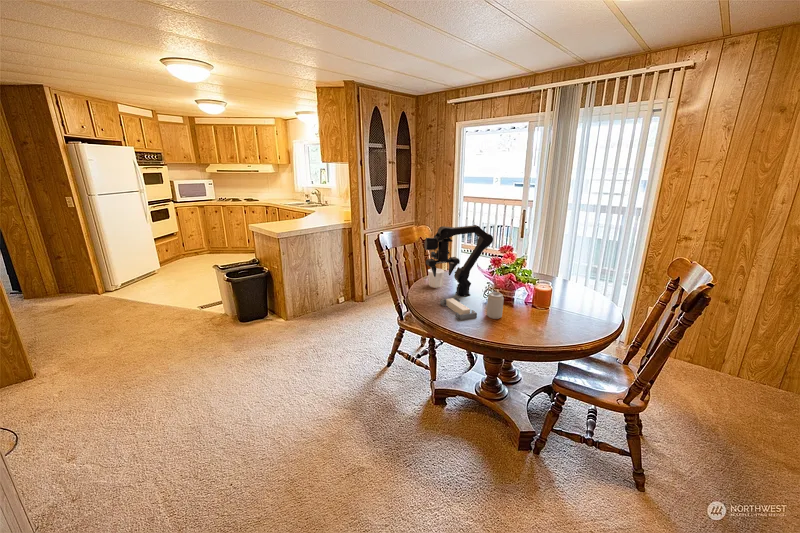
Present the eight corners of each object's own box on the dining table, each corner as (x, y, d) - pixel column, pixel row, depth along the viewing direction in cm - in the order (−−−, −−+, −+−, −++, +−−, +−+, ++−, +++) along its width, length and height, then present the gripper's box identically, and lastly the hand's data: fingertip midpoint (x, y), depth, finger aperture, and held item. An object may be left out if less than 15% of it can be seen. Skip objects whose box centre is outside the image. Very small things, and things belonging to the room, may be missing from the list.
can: (502, 314, 168) (504, 292, 164) (501, 320, 161) (503, 297, 158) (487, 312, 170) (488, 290, 167) (485, 318, 163) (487, 295, 160)
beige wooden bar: (452, 305, 180) (452, 298, 179) (469, 316, 166) (470, 309, 165) (446, 306, 179) (446, 299, 178) (463, 317, 165) (463, 310, 163)
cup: (425, 283, 213) (426, 268, 210) (440, 282, 215) (441, 268, 212) (430, 288, 204) (430, 273, 201) (445, 287, 205) (446, 272, 203)
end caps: (456, 301, 184) (456, 297, 183) (476, 317, 164) (476, 313, 163) (440, 303, 181) (440, 299, 180) (459, 320, 161) (459, 315, 160)
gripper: (451, 245, 195) (450, 270, 199) (422, 247, 189) (421, 273, 194) (460, 249, 185) (459, 276, 189) (429, 251, 179) (429, 279, 184)
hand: (442, 276), depth 189 cm, fingers open, 9 cm apart
